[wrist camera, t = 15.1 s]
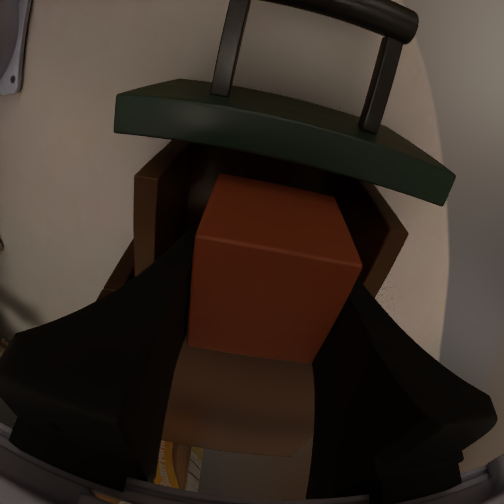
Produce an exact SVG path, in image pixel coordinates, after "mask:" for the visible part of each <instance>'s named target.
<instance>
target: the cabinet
mask: <svg viewBox="0 0 504 504" xmlns="http://www.w3.org/2000/svg"><path fill="white" fill-rule="evenodd" d="M134 277H135V269H134V239H133V240H132V242H131V243H130V245H129V246H128V248H127V250H126V251H125V253H124V255H123V256H122V258H121V259H120V261H119V263H118V264H117V266H116V268H115V269H114V271H113V273H112V274H111V276H110V278H109V279H108V281H107V283H106V285H105V286H104V289H103V290H102V291H101V293H100V295H99V297H98V298H97V300H96V301H98V300H99V299H101V298H103V297H105V296H107V295H108V294H110V293H112V292H113V291H115V290H117V289H118V288H120V287H121V286H123V285H124V284H126V283H127V282H129V281H130V280H131V279H133V278H134ZM186 338H187V334H186V337H185V339H184V342H183V345H182V348H181V351H180V354H179V357H178V360H177V364H176V367H175V371H174V376H173V381H172V385H171V390H170V395H169V400H168V405H167V410H166V416H165V421H164V427H163V433H162V439H161V440H164V441H168V442H173V443H178V444H183V445H188V446H193V447H199V448H205V449H211V450H218V451H225V452H233V453H243V454H252V455H264V456H279V457H291V456H292V455H293V454H294V453H296V452H297V451H298V450H299V449H300V448H301V447H302V446H303V445H304V444H305V443H306V442H307V441H308V440H309V439H310V438H311V437H312V436H313V435H314V411H315V389H314V377H313V368H312V363H304V362H294V361H286V360H277V359H269V358H262V357H255V356H248V355H241V354H235V353H228V352H222V351H216V350H211V349H205V348H200V347H194V346H189V345H187V343H186Z"/></svg>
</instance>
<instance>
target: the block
mask: <svg viewBox="0 0 504 504" xmlns="http://www.w3.org/2000/svg"><path fill="white" fill-rule="evenodd" d="M361 270H362V262H361V260H360V257H359V255H358V252H357V250H356V247H355V245H354V242H353V240H352V237H351V235H350V233H349V230H348V228H347V225H346V223H345V221H344V218H343V216H342V214H341V212H340V209H339V207H338V205H337V202H336V200H335V198H334V197H333V196H329V195H325V194H320V193H316V192H312V191H307V190H303V189H298V188H293V187H289V186H284V185H279V184H274V183H269V182H264V181H259V180H254V179H249V178H244V177H238V176H233V175H227V174H222V173H221V174H219V175H218V177H217V180H216V182H215V185H214V187H213V190H212V192H211V195H210V198H209V200H208V203H207V205H206V208H205V211H204V213H203V216H202V219H201V221H200V224H199V227H198V229H197V232H196V235H195V241H194V251H193V261H192V272H191V283H190V295H189V308H188V322H187V338H186V343H187V345H189V346H194V347H200V348H205V349H211V350H216V351H222V352H228V353H235V354H241V355H248V356H255V357H262V358H269V359H277V360H286V361H294V362H304V363H312V362H313V361H314V359H315V357H316V356H317V354H318V352H319V350H320V349H321V347H322V345H323V343H324V341H325V340H326V338H327V336H328V334H329V332H330V331H331V329H332V327H333V325H334V323H335V321H336V319H337V317H338V316H339V314H340V312H341V310H342V308H343V306H344V304H345V302H346V300H347V298H348V296H349V294H350V292H351V290H352V288H353V286H354V284H355V282H356V280H357V278H358V276H359V274H360V272H361Z"/></svg>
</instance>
